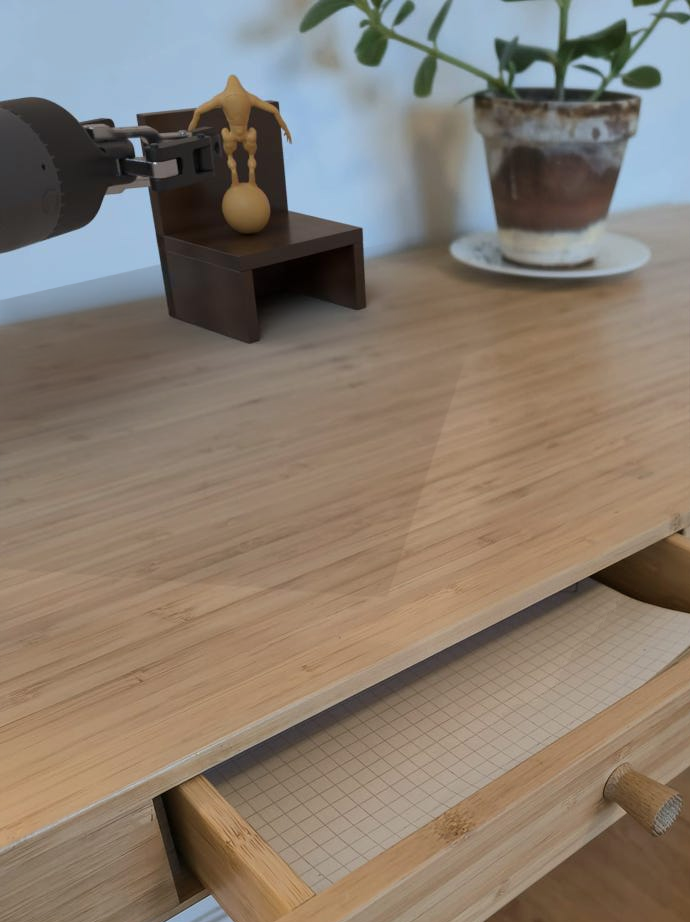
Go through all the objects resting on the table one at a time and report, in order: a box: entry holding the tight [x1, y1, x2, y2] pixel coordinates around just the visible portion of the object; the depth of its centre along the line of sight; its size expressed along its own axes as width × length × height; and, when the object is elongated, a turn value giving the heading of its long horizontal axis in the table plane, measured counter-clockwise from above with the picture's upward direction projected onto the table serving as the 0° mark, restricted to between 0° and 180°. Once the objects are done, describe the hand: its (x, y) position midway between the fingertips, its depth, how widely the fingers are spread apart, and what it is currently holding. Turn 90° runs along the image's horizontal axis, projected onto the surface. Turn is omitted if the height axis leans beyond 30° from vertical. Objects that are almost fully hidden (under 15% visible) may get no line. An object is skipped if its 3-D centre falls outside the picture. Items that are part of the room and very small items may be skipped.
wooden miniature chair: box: [135, 99, 367, 344], centre depth 83 cm, size 11×14×16 cm
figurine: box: [188, 74, 293, 234], centre depth 78 cm, size 8×6×12 cm
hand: (162, 139), depth 68 cm, fingers open, 8 cm apart
